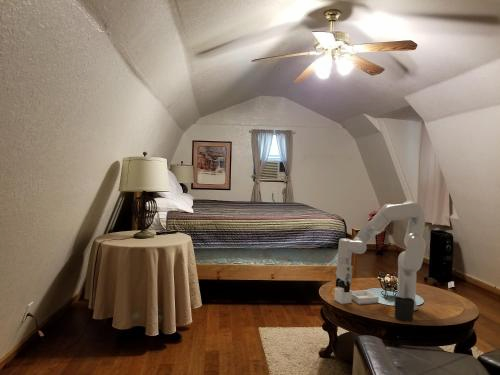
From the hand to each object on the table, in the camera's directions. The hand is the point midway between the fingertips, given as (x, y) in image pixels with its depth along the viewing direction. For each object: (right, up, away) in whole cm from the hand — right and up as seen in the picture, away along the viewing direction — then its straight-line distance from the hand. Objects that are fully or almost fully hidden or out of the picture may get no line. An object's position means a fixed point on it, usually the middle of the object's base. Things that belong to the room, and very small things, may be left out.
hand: (342, 289), depth 223 cm
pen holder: (+26, -9, -22) cm, 36 cm away
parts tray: (+13, -7, +4) cm, 15 cm away
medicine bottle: (0, -7, 0) cm, 7 cm away
